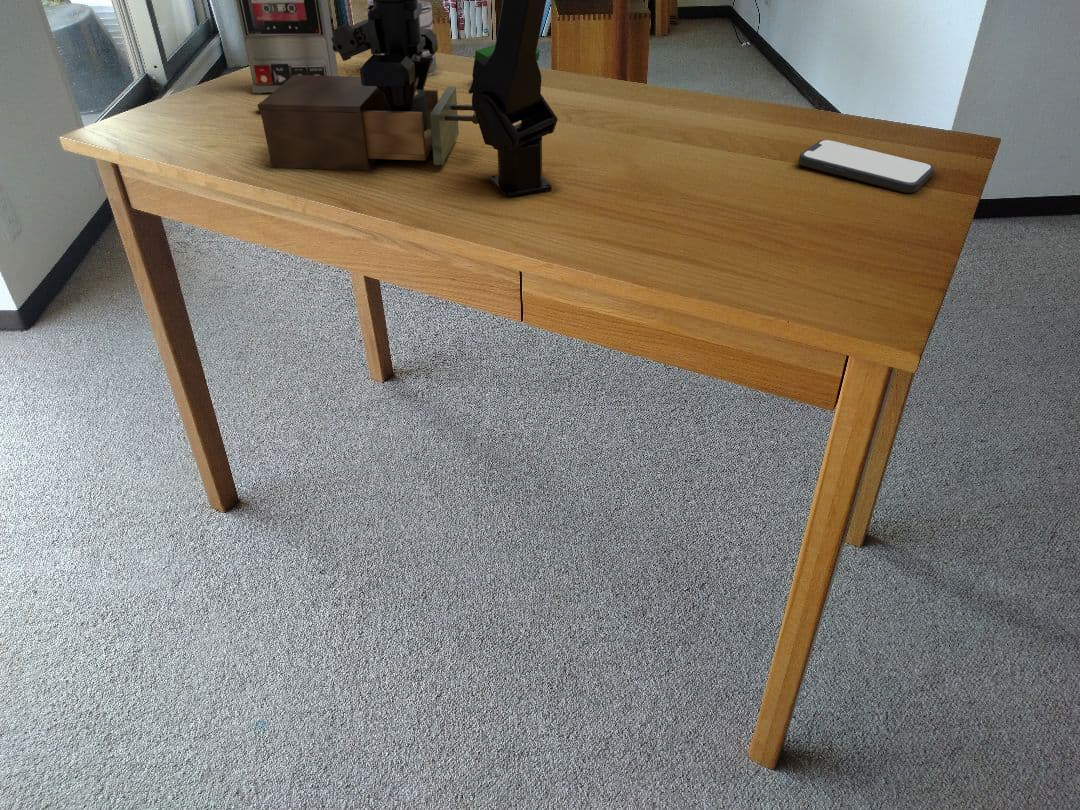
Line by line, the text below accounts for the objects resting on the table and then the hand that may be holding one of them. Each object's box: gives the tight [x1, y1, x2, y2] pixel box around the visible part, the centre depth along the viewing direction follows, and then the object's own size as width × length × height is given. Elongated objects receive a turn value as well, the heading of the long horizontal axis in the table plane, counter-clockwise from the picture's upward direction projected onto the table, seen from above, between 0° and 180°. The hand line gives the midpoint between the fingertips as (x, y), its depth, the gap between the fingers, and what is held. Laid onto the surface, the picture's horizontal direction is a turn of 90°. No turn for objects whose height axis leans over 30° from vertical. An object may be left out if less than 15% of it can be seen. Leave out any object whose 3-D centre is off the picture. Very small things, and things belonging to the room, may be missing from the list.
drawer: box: [362, 86, 479, 166], centre depth 115 cm, size 17×12×7 cm
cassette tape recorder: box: [235, 0, 341, 95], centre depth 135 cm, size 14×6×25 cm, turn 92°
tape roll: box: [384, 89, 428, 132], centre depth 114 cm, size 6×6×5 cm
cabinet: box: [258, 75, 380, 172], centre depth 116 cm, size 14×14×9 cm
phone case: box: [798, 139, 935, 194], centre depth 111 cm, size 9×2×16 cm
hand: (407, 121), depth 115 cm, fingers closed on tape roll, 5 cm apart
